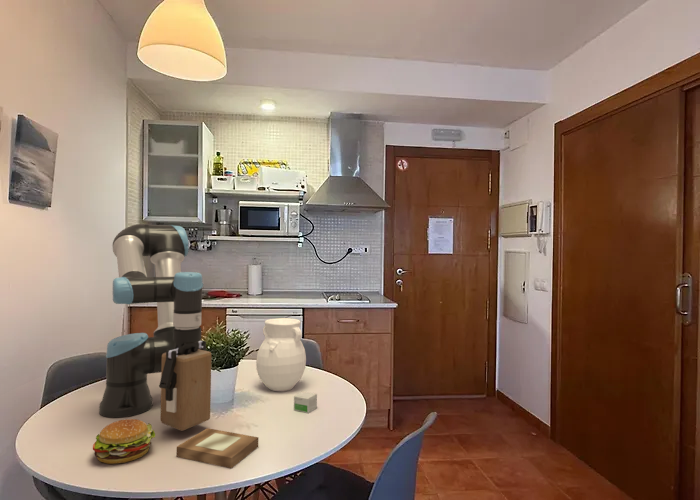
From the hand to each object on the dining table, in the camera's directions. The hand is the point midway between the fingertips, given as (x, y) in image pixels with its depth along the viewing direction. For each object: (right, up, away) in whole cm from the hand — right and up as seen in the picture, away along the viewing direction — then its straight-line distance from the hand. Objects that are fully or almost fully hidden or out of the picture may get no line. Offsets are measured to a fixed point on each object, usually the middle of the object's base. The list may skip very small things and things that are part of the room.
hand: (185, 404), depth 124 cm
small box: (+32, -8, +18) cm, 38 cm away
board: (+13, -8, -12) cm, 20 cm away
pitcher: (+21, -8, +40) cm, 46 cm away
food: (-10, -8, -14) cm, 19 cm away
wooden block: (0, -5, 0) cm, 5 cm away
